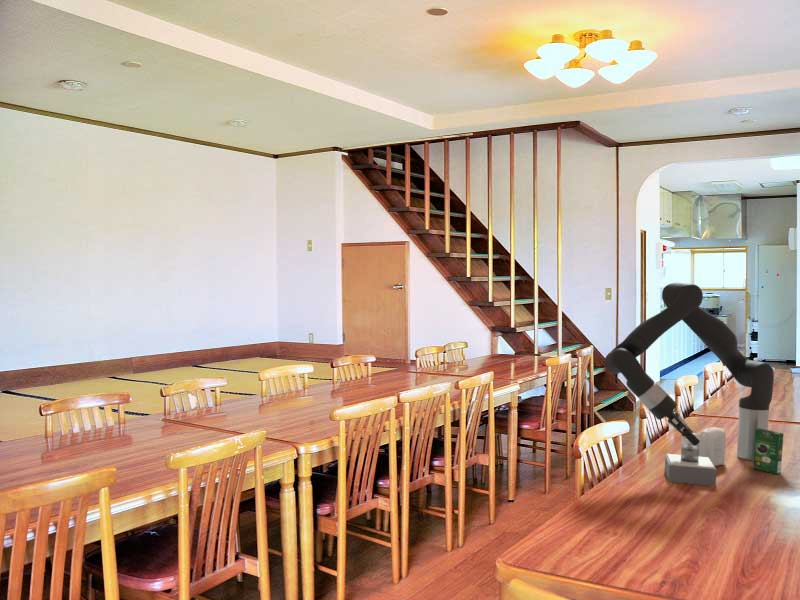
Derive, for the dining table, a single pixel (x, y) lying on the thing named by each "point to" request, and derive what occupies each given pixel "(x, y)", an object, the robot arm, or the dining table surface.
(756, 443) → the coffee box
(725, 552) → the dining table surface
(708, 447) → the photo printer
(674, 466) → the stand
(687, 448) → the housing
